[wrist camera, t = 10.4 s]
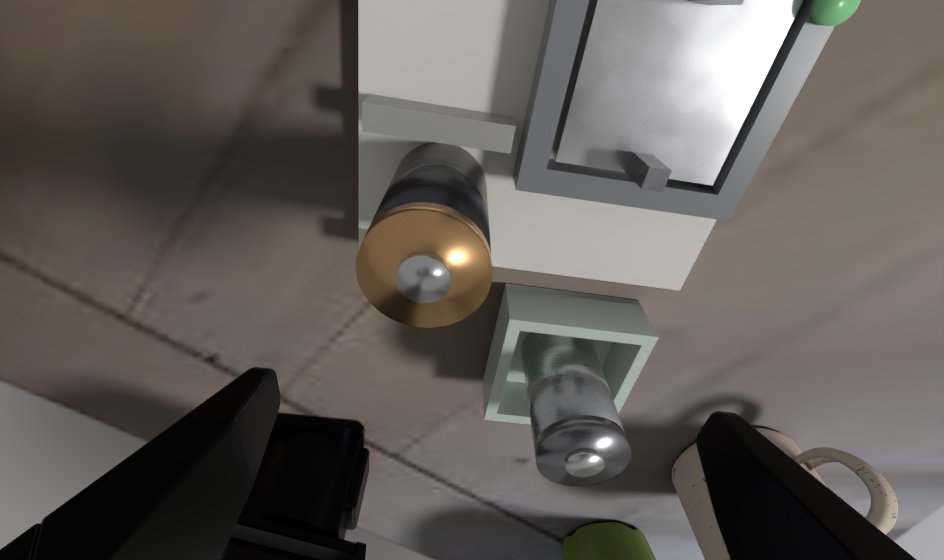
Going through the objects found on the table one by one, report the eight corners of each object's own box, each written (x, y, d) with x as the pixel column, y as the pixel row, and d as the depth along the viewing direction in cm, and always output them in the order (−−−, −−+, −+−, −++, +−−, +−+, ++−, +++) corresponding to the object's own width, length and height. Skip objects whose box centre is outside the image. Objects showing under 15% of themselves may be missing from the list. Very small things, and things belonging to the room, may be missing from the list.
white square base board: (362, 240, 20) (348, 269, 18) (365, -264, 12) (338, -329, 9) (673, 281, 22) (697, 313, 19) (887, -145, 13) (975, -177, 11)
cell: (391, 223, 19) (353, 325, 13) (396, 134, 17) (352, 207, 11) (478, 235, 19) (480, 340, 13) (494, 150, 17) (505, 228, 11)
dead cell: (514, 369, 24) (527, 488, 18) (529, 316, 22) (550, 431, 16) (580, 377, 25) (615, 496, 19) (601, 325, 22) (648, 441, 16)
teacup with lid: (735, 506, 33) (842, 711, 24) (641, 481, 32) (715, 692, 22) (864, 417, 27) (1079, 642, 18) (757, 379, 25) (933, 608, 16)
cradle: (552, 155, 17) (564, 177, 14) (603, -46, 13) (629, -56, 11) (703, 178, 17) (736, 203, 15) (791, -9, 14) (851, -12, 11)
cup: (483, 379, 26) (484, 419, 23) (505, 283, 22) (509, 319, 19) (595, 391, 26) (608, 432, 24) (638, 300, 22) (658, 337, 20)
